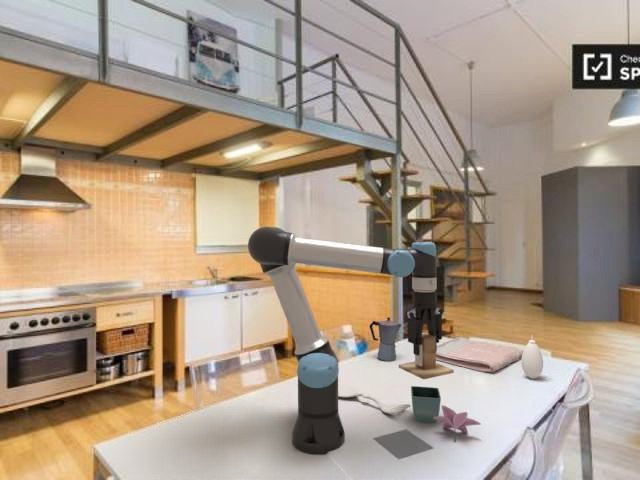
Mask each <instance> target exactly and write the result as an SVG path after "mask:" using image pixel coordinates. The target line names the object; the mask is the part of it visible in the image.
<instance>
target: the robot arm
mask: <svg viewBox="0 0 640 480" xmlns="http://www.w3.org/2000/svg"><path fill="white" fill-rule="evenodd" d="M247 249H248V250H247V251H248V253H249V255H250V257H251V258H252V260H254V261H255V262H256V263H258V264H259V266H260V267H261V270H262V273H263V275H266V276H267V277H269V278H270V280H271V283H272V286H273V288H274V291H275V293H276V296H277V298H278V300H279V304H280V306H281V308H282V312H283V314H284V317H285V318H286V322H287V324H288V326H289V329H290V331H291V335H292V337H293V339H294V342H295V344H296V347H295V350H294V355H295V358H296V360H297V362H298V363H297V370H296V375H297V415H296V419H295V422H294V425H293V429H292V433H291V437H292V438H291V441H292V442H291V443H292V444H293V446H294V447H295V448H296V450H297V449H298V450H299V451H300V452H304V453H307V454H314V455H321V454H328V453H329V452H332V451H336V450H338V449H339V448H341V447H342V446H343V444H344V443H345V440H346V438H345V436H346V435H345V434H346V433H345V429H344V425H343V423H342V420H341V417H340V413H339V397H338V384H339V371H340V369H339V360H338V356H337V354H336V353H335V351H334V350H333V349H332V346H331V343H330V341H329V338H327V337H325V336H323V335H322V332H321V331H320V328H319V325H318V323H317V321H316V318H315V316H314V312H313V310H312V308H311V305H310V302H309V301H308V298H307V296H306V292H305V291H304V288H303V285H302V283H301V280H300V277H299V275H298V271H297V269H296V264H300V265H301V264H302V265H311V266H318V267H323V268H324V267H325V268H331V269H332V268H333V269H335V268H336V269H342V270H351V271H358V272H365V273H373V274H381V275H388V276H394V277H396V278H405V277H408V276H409V275H410V274H412V278H411V281H412V282H411V287H412V290H413V291H412V303H413V307H412V309H411V310H410V311H406V312H405V315H406V319H407V320H406V321H407V322H406V323H407V325H406V326H407V343H410V344H412V346H413V355H414V362H415V364H417V365H419V366H423V352H422V345H421V344H420V342H421V337H422V334H423V330H424V329H423V328H424V325H425V323H426V328H427V334H429V335H432V336H435V337H436V351H437V346H438V345H437V344H439V343H440V341H441V340H442V339H443V314H444V309H443V308H438V307H437V305H436V304H437V302H438V292H437V287H438V286H437V285H438V284H437V258H438V256H437V245H436V244H435V242H431V241H428V242H427V241H426V242H424V241H423V242H421V241H420V242H419V241H416V242H412V244H411V248H389V247H379V246H374V245H373V246H372V245H371V246H370V245H364V244H363V245H362V244H355V243H348V242H342V241H341V242H340V241H332V240H326V239H325V240H324V239H323V240H322V239H316V238H315V239H314V238H308V237H300V236H297V235H296V234H295V232H288V231H285V230H284V229H282V228H279V227H277V226H276V227H275V226H262V227H259V228H257V229H255V231H253V232H252V233H251V234H250V236H249V238H248V242H247Z"/></svg>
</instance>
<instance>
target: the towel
mask: <svg viewBox="0 0 640 480" xmlns="http://www.w3.org/2000/svg"><path fill="white" fill-rule="evenodd" d="M523 351H524V349H521V348H520V349H519V348H517V347H515V346H508V345H502V344H497V343H491V342H487V341H486V342H485V341H477V340H476V341H475V340H472V339H468V338H465V337H462V336H457V337H455V338H454V339H450V340H447V341H444V342H443V343H441V344H438V345H437V351H436V362H437V361H438V362H441V363H445V364H450V365H454V366H457V367H462V368H466V369H469V370H473V371H478V372H480V373H481V372H482V373H492V372H496V371H498V370H500V369H502V368H504V367H507V366H508V365H510V364H511V363H515V362H516V361H518V360H519V359H522V354H523Z"/></svg>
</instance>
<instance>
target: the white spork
mask: <svg viewBox="0 0 640 480" xmlns="http://www.w3.org/2000/svg"><path fill="white" fill-rule="evenodd" d="M354 397H362V398H363V399H368V400H371V401H373V402H375V404H377V406H378V407H379V408H380V410H381V412H383V413H384V414H388V415H391V416H396V415H398V414H401V413H402V412H403V411H405V410H406V409H408V408H410V407H411V404H409V403H404V404H386V403H383V402H381V400H379V399H378V398H376V397H375V396H372V395H370V394H369V393H365V392H364V393H363V392H358V391H357V390H356V389H354V388H351V387H350V386H346V385H344V384H339V383H338V398H344V399H345V398H354Z"/></svg>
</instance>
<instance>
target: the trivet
mask: <svg viewBox="0 0 640 480" xmlns="http://www.w3.org/2000/svg"><path fill="white" fill-rule="evenodd" d="M372 439H373V440H374V441H375V442H376V443H378V444H379V445H380V446H381V447H382V448H384V449H385V450H386V451H388V452H389V453H390V454H391V455H392V456H394V457H395V458H396V459H397V460H401V459H405V458H408V457H411V456H413V455H418V454H420V453H423V452H427V451H430V450H433V449H434V447H433V446H432V445H430V444H429V443H428V442H426V441H424V440H423V439H422V438H420V437H418V435H416V434H414V433H412V431H409V430H408V429H407V428H405V429H403V430H399V431H394V432H391V433H388V434H383V435H379V436H375V437H373V438H372Z"/></svg>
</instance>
